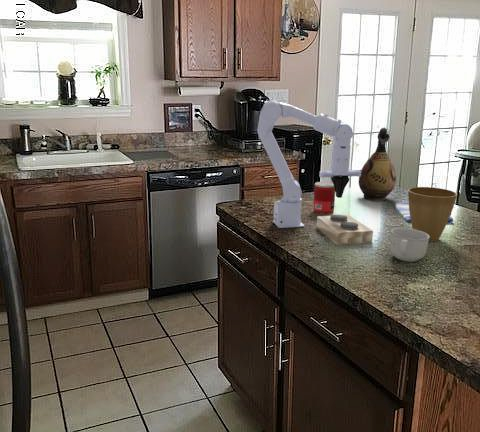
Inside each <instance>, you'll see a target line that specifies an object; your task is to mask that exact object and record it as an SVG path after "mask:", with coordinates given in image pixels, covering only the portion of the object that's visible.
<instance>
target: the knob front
mask: <svg viewBox="0 0 480 432" xmlns="http://www.w3.org/2000/svg"><path fill="white" fill-rule="evenodd" d="M341 226H342V227H343V229H344V230H352V229H355V228H357V227H358V224H357V223H353V222H342V223H341Z"/></svg>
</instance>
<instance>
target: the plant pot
mask: <svg viewBox="0 0 480 432" xmlns="http://www.w3.org/2000/svg"><path fill="white" fill-rule="evenodd" d="M407 193H408V194H407V196H408V198H407V200H408V202H409V212H410V219H411V227H412V228H411V229H415V230H419V231H422V232H425V233H427V234H428V235H429V236H430V238H429V241H428V243H434V242H438V241H439V240H440V237H441V236H442V234H443V232H444V230H445V228H446V226H447V225H448V224H447V222H448V220H449V217H450V216H451V215H452V212H453V209H454V206H455V204H456V199H457V197H458V193H457V192H456V191H452V190H450V189H445V188H440V187H432V186H431V187H430V186H416V187H409V188H408V189H407Z"/></svg>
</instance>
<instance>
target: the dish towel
mask: <svg viewBox="0 0 480 432" xmlns="http://www.w3.org/2000/svg"><path fill="white" fill-rule="evenodd" d="M394 204H395V205H394V208H395V210H396V211H397V212H398V214H400V215H401V217H402V218H403V219H404V220H405V222H407V223H410V222H411V219H410V212H409V201H400V202H395V203H394ZM453 222H454V218H453V217H452V216H451V215H450V217H449V220H448V222H447V224H446V225H452V224H453Z"/></svg>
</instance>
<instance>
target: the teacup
mask: <svg viewBox="0 0 480 432" xmlns="http://www.w3.org/2000/svg"><path fill="white" fill-rule="evenodd" d="M429 238H430V236H429V235H428V234H427V233H425V232H422V231H419V230H415V229H413V228H408V227H394V228H392V229H391V231H390V239H389V250H390V252H391V254H392V255H393V256H394V257H395V258H396V259H398V260H400V261H403V262H410V263H412V262H417V261H419V260H421V259H423V258H424V256H425V255H426V253H427V250H428V246H429V242H428V241H429Z"/></svg>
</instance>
